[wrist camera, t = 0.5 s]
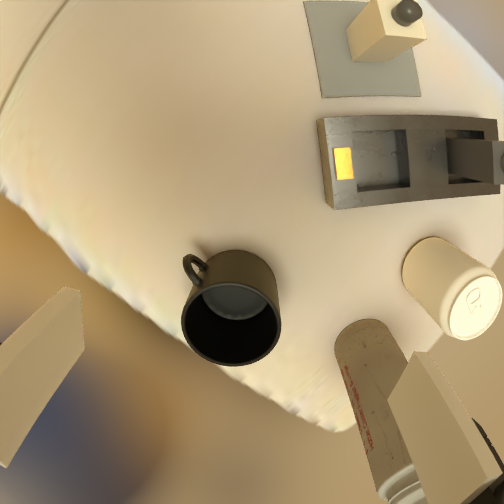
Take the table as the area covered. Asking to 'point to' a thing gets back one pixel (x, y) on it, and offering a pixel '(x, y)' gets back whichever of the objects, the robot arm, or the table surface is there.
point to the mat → (340, 61)
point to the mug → (231, 308)
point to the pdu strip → (396, 158)
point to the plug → (385, 30)
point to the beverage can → (452, 287)
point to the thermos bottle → (378, 407)
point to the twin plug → (476, 159)
